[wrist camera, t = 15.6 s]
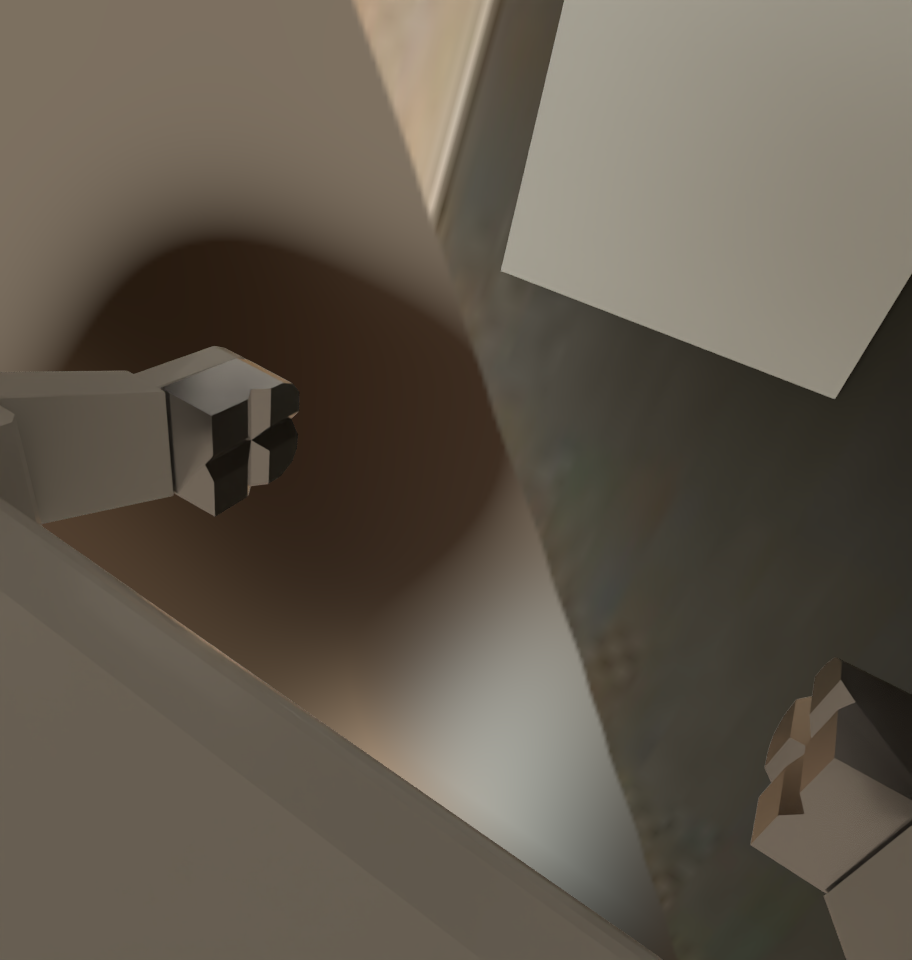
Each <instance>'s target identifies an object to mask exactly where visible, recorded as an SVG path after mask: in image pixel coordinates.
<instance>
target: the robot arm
mask: <svg viewBox="0 0 912 960" xmlns="http://www.w3.org/2000/svg"><path fill="white" fill-rule="evenodd" d="M298 411H299V391H298V390H297V388H296V387H295V386H294V385H293V384H292V383H290V382H289V381H287V380H285V379H283V378H281V377H279V376H277V375H275V374H273V373H272V372H270V371H268V370H266V369H264V368H262V367H260V366H258V365H257V364H255V363H253V362H251V361H249V360H247V359H244V358H243V357H241V356H239V355H237V354H235V353H233V352H231V351H229V350H227V349H225V348H221V347H216V346H213V347H210V348H207V349H204V350H201V351H199V352H196V353H193V354H190V355H187V356H184V357H182V358H179V359H176V360H173V361H170V362H168V363H165V364H162V365H159V366H156V367H153V368H151V369H148V370H145V371H142V372H139V373H136V374H132V373H130V372H128V371H69V372H68V371H66V372H65V371H61V372H0V960H663V959H661V958H660V957H658V956H657V955H656V954H654V953H653V952H651V951H650V950H648V949H647V948H646V947H644V946H643V945H641V944H640V943H638V942H637V941H636V940H634V939H633V938H631V937H630V936H628V935H627V934H625V933H624V932H622V931H621V930H620V929H618V928H617V927H616V926H614V925H612V924H611V923H609V922H608V921H607V920H605V919H604V918H603V917H601V916H600V915H598V914H597V913H595V912H594V911H592V910H591V909H590V908H588V907H587V906H585V905H584V904H582V903H581V902H579V901H578V900H577V899H575V898H574V897H572V896H571V895H570V894H568V893H567V892H565V891H564V890H562V889H561V888H559V887H558V886H557V885H555V884H554V883H552V882H551V881H549V880H548V879H547V878H545V877H544V876H542V875H541V874H539V873H538V872H536V871H535V870H534V869H532V868H531V867H529V866H528V865H526V864H525V863H524V862H522V861H521V860H519V859H518V858H516V857H515V856H514V855H512V854H510V853H509V852H508V851H506V850H505V849H503V848H502V847H501V846H499V845H498V844H496V843H495V842H493V841H492V840H490V839H489V838H488V837H486V836H485V835H483V834H482V833H480V832H479V831H478V830H476V829H475V828H473V827H472V826H470V825H469V824H467V823H466V822H464V821H463V820H462V819H460V818H459V817H457V816H456V815H455V814H453V813H452V812H450V811H449V810H447V809H446V808H445V807H443V806H442V805H440V804H439V803H437V802H436V801H434V800H433V799H431V798H430V797H429V796H427V795H426V794H424V793H423V792H421V791H420V790H419V789H417V788H416V787H414V786H413V785H411V784H410V783H409V782H407V781H406V780H404V779H403V778H401V777H400V776H399V775H397V774H396V773H394V772H393V771H391V770H390V769H389V768H387V767H385V766H384V765H383V764H381V763H380V762H378V761H377V760H376V759H374V758H373V757H371V756H370V755H368V754H367V753H366V752H364V751H363V750H361V749H360V748H358V747H357V746H355V745H354V744H353V743H351V742H350V741H348V740H347V739H345V738H344V737H343V736H341V735H340V734H338V733H337V732H335V731H334V730H332V729H331V728H330V727H328V726H326V725H325V724H324V723H322V722H321V721H319V720H318V719H317V718H315V717H314V716H312V715H311V714H310V713H308V712H307V711H305V710H304V709H302V708H301V707H300V706H298V705H297V704H295V703H294V702H293V701H291V700H290V699H288V698H287V697H285V696H284V695H283V694H281V693H280V692H278V691H277V690H275V689H274V688H273V687H271V686H270V685H268V684H267V683H265V682H264V681H263V680H261V679H260V678H258V677H257V676H255V675H254V674H252V673H251V672H250V671H248V670H247V669H245V668H244V667H243V666H241V665H239V664H238V663H237V662H235V661H234V660H232V659H231V658H230V657H228V656H226V655H225V654H224V653H223V652H221V651H220V650H218V649H217V648H215V647H214V646H213V645H211V644H210V643H208V642H207V641H205V640H204V639H203V638H201V637H200V636H198V635H197V634H195V633H194V632H193V631H191V630H190V629H188V628H187V627H185V626H184V625H183V624H181V623H180V622H178V621H177V620H175V619H174V618H172V617H171V616H170V615H168V614H167V613H165V612H164V611H162V610H161V609H160V608H158V607H157V606H155V605H154V604H152V603H151V602H150V601H148V600H147V599H145V598H144V597H142V596H141V595H139V594H138V593H137V592H135V591H134V590H132V589H131V588H130V587H128V586H127V585H125V584H124V583H122V582H121V581H119V580H118V579H117V578H115V577H114V576H112V575H111V574H109V573H108V572H106V571H105V570H104V569H102V568H101V567H99V566H98V565H97V564H95V563H94V562H92V561H91V560H89V559H88V558H86V557H85V556H84V555H82V554H81V553H79V552H78V551H77V550H75V549H73V548H72V547H71V546H69V545H68V544H66V543H65V542H64V541H62V540H60V539H59V538H58V537H56V536H55V535H54V534H52V533H51V532H49V531H48V530H46V529H45V528H43V527H42V524H44V523H48V522H53V521H58V520H62V519H67V518H72V517H76V516H80V515H86V514H90V513H95V512H99V511H104V510H109V509H114V508H118V507H123V506H127V505H132V504H137V503H142V502H146V501H151V500H156V499H160V498H165V497H169V496H173V493H175V494H176V495H178V496H180V497H182V498H183V499H185V500H187V501H189V502H191V503H192V504H194V505H196V506H198V507H199V508H201V509H203V510H205V511H206V512H208V513H210V514H212V515H213V516H217V515H218V514H220V513H222V512H223V511H225V510H227V509H228V508H230V507H231V506H233V505H235V504H236V503H238V502H240V501H241V500H243V499H244V498H246V497H247V496H248V493H249V490H250V486H254V485H263V484H269V483H270V482H272V481H273V480H275V479H276V478H278V477H280V476H281V475H282V474H283V472H284V471H285V470H286V469H287V467H288V466H289V465H290V463H291V462H292V461H293V457H294V455H295V452H296V449H297V439H298V434H297V432H296V429H295V427H294V424H293V422H292V420H291V418H292V417H293V416H294V415H295V414H296V413H297V412H298ZM764 768H765V770H766V772H767V774H768V776H769V778H770V781H771V784H770V785H769V786H768V787H767V789H766V790H765V791H764V792H763V793H762V794H761V795H760V796H759V799H758V805H757V810H756V816H755V822H754V827H753V833H752V839H751V844H750V845H752V846H753V847H755V848H756V849H758V850H759V851H761V852H762V853H764V854H766V855H767V856H769V857H770V858H772V859H773V860H775V861H776V862H778V863H779V864H781V865H783V866H784V867H786V868H787V869H789V870H790V871H792V872H793V873H795V874H797V875H798V876H800V877H801V878H803V879H804V880H806V881H807V882H809V883H811V884H812V885H814V886H815V887H817V888H818V889H820V890H821V891H823V892H825V893H826V895H825V896H824V898H825V901H826V904H827V907H828V909H829V912H830V915H831V918H832V921H833V923H834V926H835V929H836V932H837V934H838V937H839V940H840V943H841V946H842V948H843V951H844V954H845V957H846V960H912V694H910V693H908V692H906V691H904V690H902V689H900V688H898V687H896V686H894V685H892V684H890V683H888V682H886V681H884V680H881V679H879V678H877V677H875V676H873V675H871V674H869V673H867V672H865V671H863V670H861V669H859V668H857V667H855V666H853V665H851V664H849V663H847V662H845V661H843V660H841V659H839V658H837V657H835V658H833V659H832V660H830V661H829V662H828V663H826V664H825V666H824V667H823V668H822V669H821V670H820V671H819V673H818V674H817V675H816V676H815V679H814V686H813V693H812V696H811V697H806V698H801V699H796V700H795V702H794V703H793V704H792V706H791V707H790V708H789V710H788V711H787V712H786V713H785V715H784V716H783V718H782V720H781V722H780V723H779V725H778V727H777V729H776V731H775V733H774V735H773V737H772V740H771V743H770V746H769V749H768V753H767V758H766V762H765V767H764Z"/></svg>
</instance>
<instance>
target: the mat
mask: <svg viewBox="0 0 912 960" xmlns="http://www.w3.org/2000/svg"><path fill="white" fill-rule="evenodd" d="M501 271H503V272H505V273H508V274H510V275H513V276H516V277H518V278H521V279H523V280H526V281H529V282H531V283H534V284H536V285H539V286H542V287H544V288H547V289H549V290H552V291H555V292H557V293H560V294H562V295H565V296H568V297H570V298H573V299H575V300H578V301H581V302H583V303H586V304H588V305H591V306H594V307H596V308H599V309H601V310H604V311H607V312H609V313H612V314H614V315H617V316H620V317H622V318H625V319H627V320H630V321H633V322H635V323H638V324H640V325H643V326H646V327H648V328H651V329H653V330H656V331H659V332H661V333H664V334H666V335H669V336H672V337H674V338H677V339H679V340H682V341H685V342H687V343H690V344H692V345H695V346H698V347H700V348H703V349H705V350H708V351H711V352H713V353H716V354H718V355H721V356H724V357H726V358H729V359H731V360H734V361H737V362H739V363H742V364H744V365H747V366H750V367H752V368H755V369H757V370H760V371H763V372H765V373H768V374H770V375H773V376H776V377H778V378H781V379H783V380H786V381H789V382H791V383H794V384H796V385H799V386H802V387H804V388H807V389H809V390H812V391H815V392H817V393H820V394H822V395H825V396H828V397H830V398H833V399H835V398H836V396H837V395H838V393H839V392H840V390H841V388H842V387H843V385H844V383H845V382H846V380H847V378H848V377H849V375H850V374H851V372H852V370H853V369H854V367H855V365H856V364H857V362H858V361H859V359H860V357H861V356H862V354H863V352H864V351H865V349H866V347H867V346H868V344H869V343H870V341H871V339H872V338H873V336H874V334H875V333H876V331H877V329H878V328H879V326H880V325H881V323H882V321H883V320H884V318H885V316H886V315H887V313H888V312H889V310H890V308H891V307H892V305H893V303H894V302H895V300H896V298H897V297H898V295H899V294H900V292H901V290H902V289H903V287H904V285H905V284H906V282H907V280H908V279H909V277H910V276H911V274H912V0H564V4H563V8H562V13H561V17H560V21H559V25H558V30H557V34H556V38H555V42H554V47H553V51H552V55H551V60H550V64H549V68H548V72H547V77H546V81H545V85H544V89H543V94H542V98H541V102H540V106H539V111H538V115H537V119H536V123H535V128H534V132H533V136H532V140H531V145H530V149H529V153H528V158H527V162H526V166H525V170H524V175H523V179H522V183H521V187H520V192H519V196H518V200H517V204H516V209H515V213H514V217H513V221H512V226H511V230H510V234H509V238H508V243H507V247H506V251H505V256H504V260H503V264H502V268H501Z"/></svg>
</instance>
